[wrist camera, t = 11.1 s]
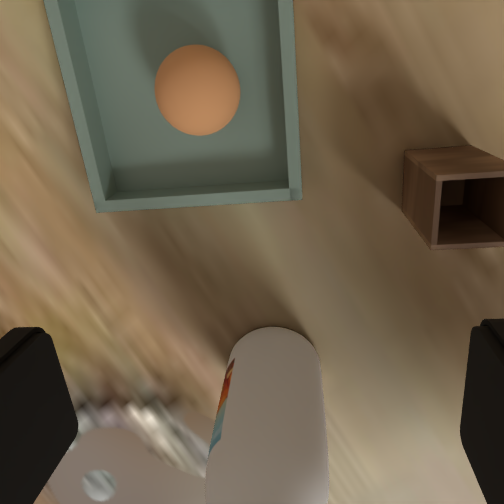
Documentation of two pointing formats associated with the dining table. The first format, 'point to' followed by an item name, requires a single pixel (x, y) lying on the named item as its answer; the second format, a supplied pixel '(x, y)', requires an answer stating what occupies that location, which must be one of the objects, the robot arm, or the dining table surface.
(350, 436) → the dining table surface
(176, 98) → the ball
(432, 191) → the wooden box
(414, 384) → the dining table surface
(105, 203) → the tray
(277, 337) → the milk bottle
